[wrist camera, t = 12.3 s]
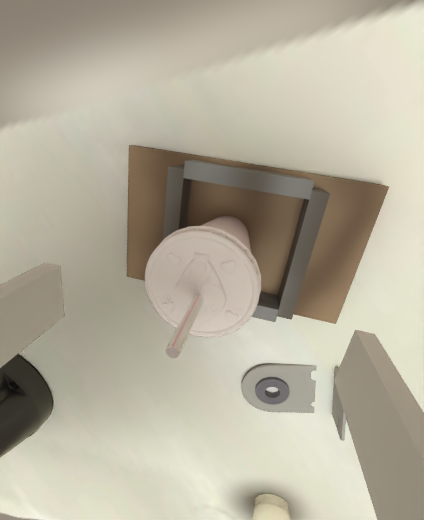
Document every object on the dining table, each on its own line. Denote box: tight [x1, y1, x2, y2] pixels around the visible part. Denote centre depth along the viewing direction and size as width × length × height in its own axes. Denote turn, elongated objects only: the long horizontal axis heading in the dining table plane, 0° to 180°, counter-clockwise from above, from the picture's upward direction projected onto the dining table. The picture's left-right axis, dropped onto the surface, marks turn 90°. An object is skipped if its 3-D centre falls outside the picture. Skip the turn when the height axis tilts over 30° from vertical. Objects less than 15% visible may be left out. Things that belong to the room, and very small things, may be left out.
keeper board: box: [127, 145, 389, 324], centre depth 23 cm, size 20×12×4 cm, turn 82°
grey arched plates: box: [242, 364, 346, 440], centre depth 28 cm, size 7×10×3 cm, turn 97°
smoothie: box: [145, 216, 261, 358], centre depth 17 cm, size 6×6×14 cm
